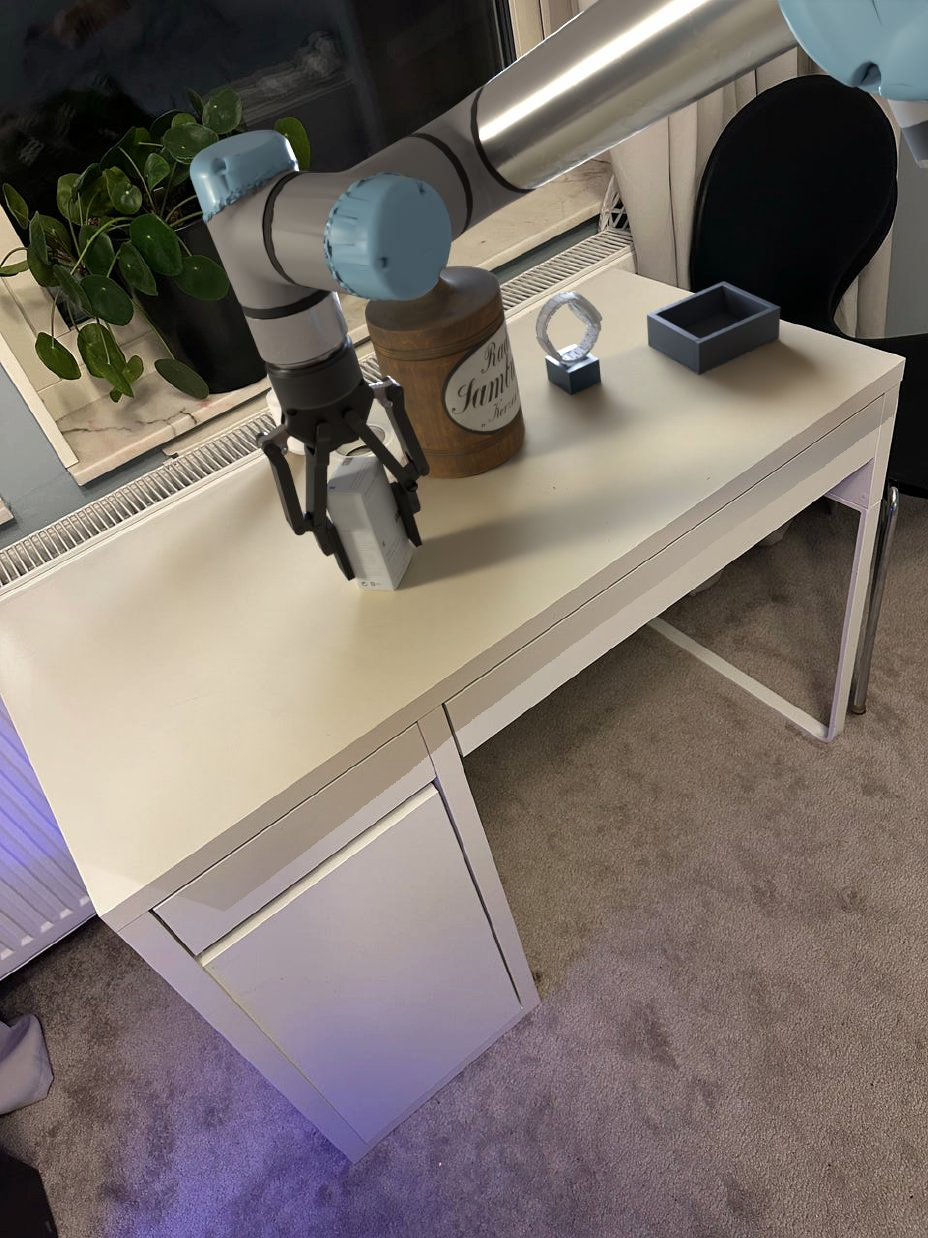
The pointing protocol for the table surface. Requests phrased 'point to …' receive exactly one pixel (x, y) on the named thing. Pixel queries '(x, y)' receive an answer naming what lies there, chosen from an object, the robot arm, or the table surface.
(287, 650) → the table surface
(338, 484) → the cosmetic box
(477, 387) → the wooden container
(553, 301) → the watch
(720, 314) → the holder
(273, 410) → the eye dropper bottle
